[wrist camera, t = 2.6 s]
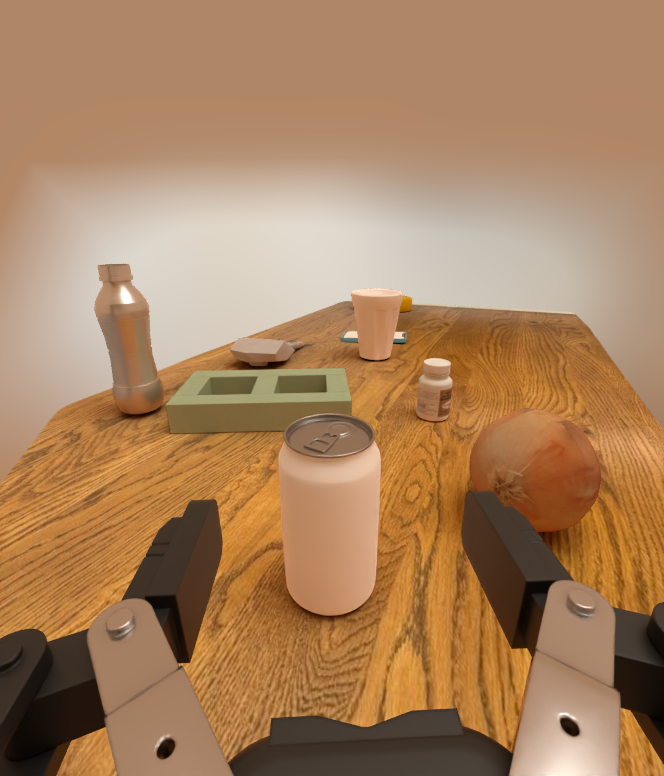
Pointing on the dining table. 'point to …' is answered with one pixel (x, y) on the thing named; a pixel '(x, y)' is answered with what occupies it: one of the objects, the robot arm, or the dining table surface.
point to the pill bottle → (434, 390)
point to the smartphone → (353, 337)
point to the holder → (256, 399)
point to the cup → (376, 320)
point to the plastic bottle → (128, 341)
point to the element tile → (405, 304)
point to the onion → (538, 467)
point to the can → (330, 511)
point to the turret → (263, 350)
